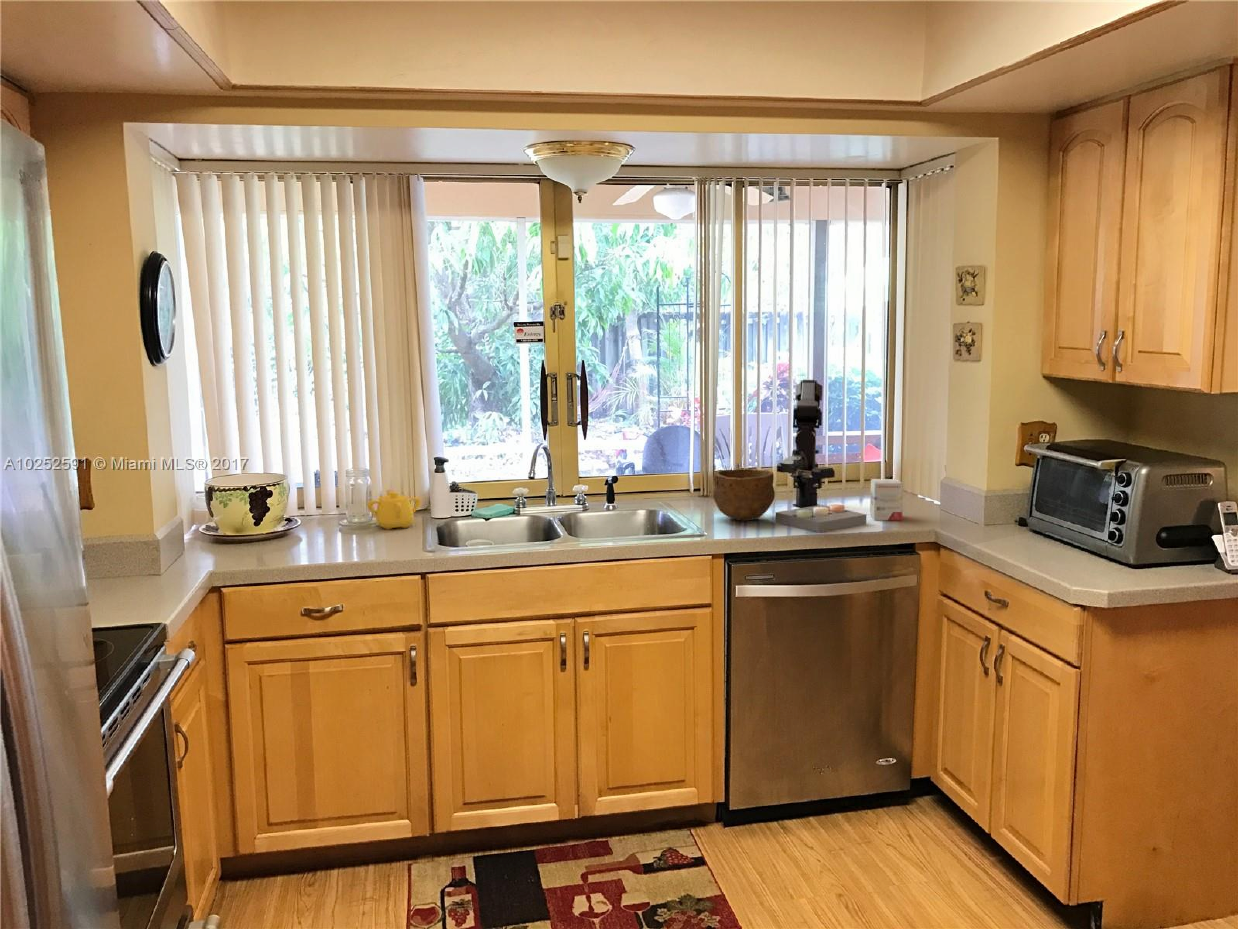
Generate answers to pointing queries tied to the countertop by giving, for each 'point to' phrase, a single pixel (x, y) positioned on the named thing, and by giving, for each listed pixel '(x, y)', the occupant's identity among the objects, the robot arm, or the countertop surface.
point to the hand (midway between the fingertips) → (804, 498)
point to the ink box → (886, 499)
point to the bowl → (743, 492)
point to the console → (821, 519)
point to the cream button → (820, 511)
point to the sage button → (804, 514)
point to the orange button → (837, 508)
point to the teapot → (394, 510)
